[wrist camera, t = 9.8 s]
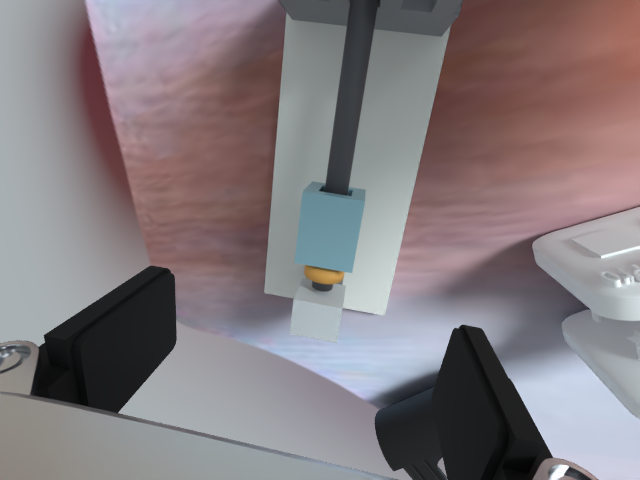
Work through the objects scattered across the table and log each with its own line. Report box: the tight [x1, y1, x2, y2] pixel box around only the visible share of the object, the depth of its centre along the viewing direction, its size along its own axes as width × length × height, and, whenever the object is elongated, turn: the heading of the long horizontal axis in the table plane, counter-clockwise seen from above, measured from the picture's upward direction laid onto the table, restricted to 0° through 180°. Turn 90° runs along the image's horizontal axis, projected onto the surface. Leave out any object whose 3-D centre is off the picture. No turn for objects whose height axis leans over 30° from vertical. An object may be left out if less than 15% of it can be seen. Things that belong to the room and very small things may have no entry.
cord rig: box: [264, 0, 463, 343], centre depth 24 cm, size 28×12×9 cm, turn 173°
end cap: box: [375, 386, 447, 480], centre depth 33 cm, size 10×7×7 cm
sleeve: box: [294, 181, 366, 273], centre depth 24 cm, size 5×4×4 cm
